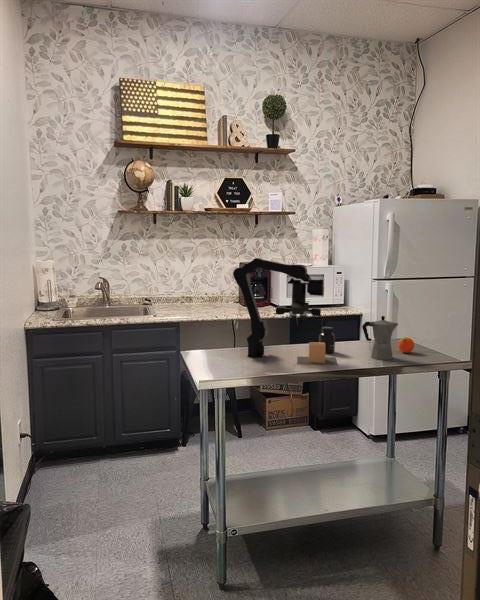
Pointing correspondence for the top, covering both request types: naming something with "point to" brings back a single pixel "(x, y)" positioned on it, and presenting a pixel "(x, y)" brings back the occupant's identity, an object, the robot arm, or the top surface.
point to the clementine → (406, 345)
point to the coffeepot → (381, 338)
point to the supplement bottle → (328, 339)
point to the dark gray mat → (306, 362)
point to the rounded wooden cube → (317, 352)
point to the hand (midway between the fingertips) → (297, 331)
